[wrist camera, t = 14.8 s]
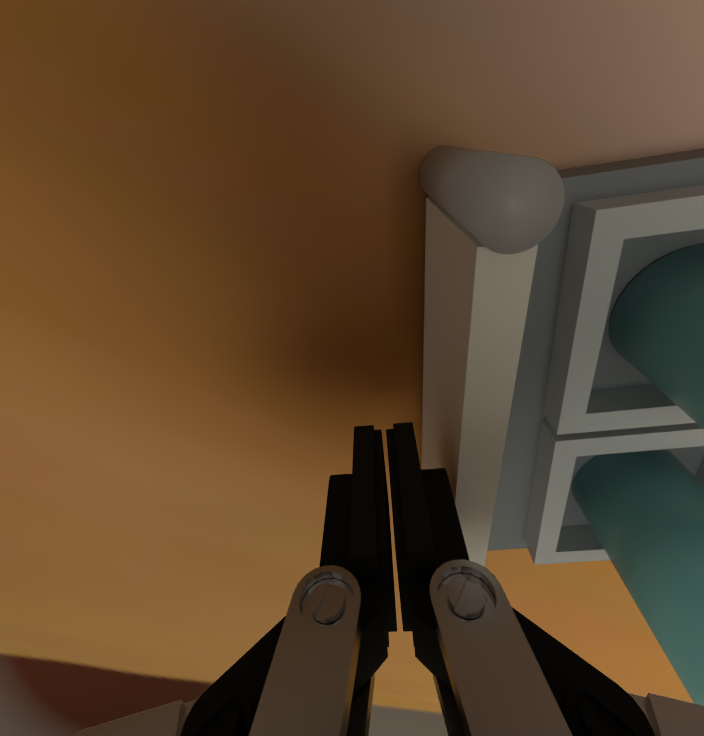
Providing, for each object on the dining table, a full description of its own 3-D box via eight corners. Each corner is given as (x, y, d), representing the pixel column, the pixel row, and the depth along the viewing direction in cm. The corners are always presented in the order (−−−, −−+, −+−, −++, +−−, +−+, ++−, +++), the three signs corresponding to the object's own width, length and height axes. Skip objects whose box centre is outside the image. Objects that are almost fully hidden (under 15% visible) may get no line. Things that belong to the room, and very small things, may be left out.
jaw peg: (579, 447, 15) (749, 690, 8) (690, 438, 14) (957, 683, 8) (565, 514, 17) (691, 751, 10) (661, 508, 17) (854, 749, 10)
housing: (469, 183, 12) (496, 196, 9) (920, 116, 10) (1078, 111, 8) (464, 524, 20) (478, 575, 17) (715, 506, 19) (766, 559, 16)
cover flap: (419, 148, 11) (475, 161, 6) (468, 143, 11) (574, 152, 6) (416, 468, 18) (440, 617, 12) (447, 467, 18) (485, 617, 12)
